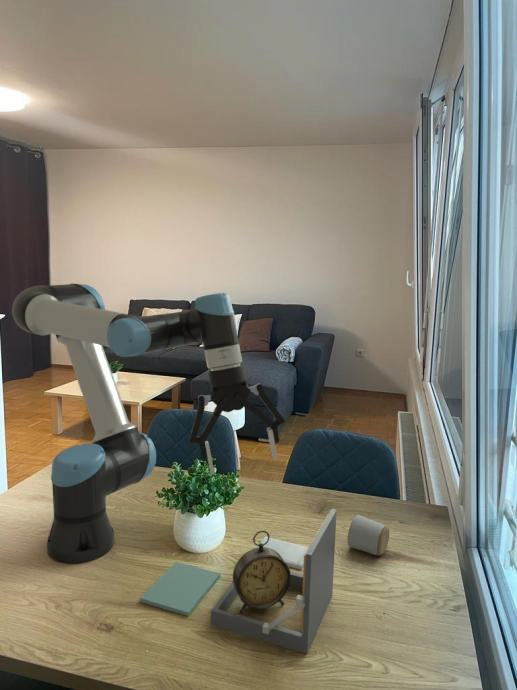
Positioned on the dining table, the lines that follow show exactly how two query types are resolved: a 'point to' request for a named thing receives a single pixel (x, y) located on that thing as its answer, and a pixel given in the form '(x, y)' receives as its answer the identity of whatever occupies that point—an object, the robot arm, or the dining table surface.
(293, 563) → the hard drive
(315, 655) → the dining table surface
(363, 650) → the dining table surface
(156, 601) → the rubber mat
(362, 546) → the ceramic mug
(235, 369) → the robot arm
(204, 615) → the dining table surface
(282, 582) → the alarm clock
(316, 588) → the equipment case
